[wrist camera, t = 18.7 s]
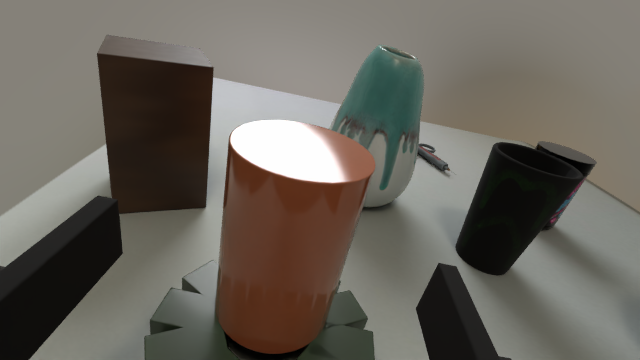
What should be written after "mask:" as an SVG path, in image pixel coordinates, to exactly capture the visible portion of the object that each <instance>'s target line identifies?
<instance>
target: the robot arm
mask: <svg viewBox="0 0 640 360" xmlns="http://www.w3.org/2000/svg"><path fill="white" fill-rule="evenodd" d="M122 254H123V251H122V240H121V229H120V219H119V208H118V200H117V199H112V198H107V197H102V196H97V197H95V198H94V199H93V200H92V201H90V202H89V203H88V204H86V205H85V206H84V207H83V208H81V209H80V210H79V211H77V212H76V213H75V214H73V215H72V216H71V217H70V218H68V219H67V220H66V221H64V222H63V223H62V224H61V225H59V226H58V227H57V228H55V229H54V230H53V231H51V232H50V233H49V234H48V235H46V236H45V237H44V238H42V239H41V240H40V241H39V242H37V243H36V244H35V245H33V246H32V247H31V248H29V249H28V250H27V251H26V252H24V253H23V254H22V255H20V256H19V257H18V258H17V259H15V260H14V261H13V262H11V263H10V264H9V265H7V266H6V267H2V266H0V360H29V359H30V358H31V357H32V355H33V354H34V353H35V352H36V351H37V350H38V349H39V347H40V346H41V345H42V344H43V343H44V342H45V341H46V340H47V338H48V337H49V336H50V335H51V334H52V333H53V332H54V331H55V329H56V328H57V327H58V326H59V325H60V324H61V323H62V321H63V320H64V319H65V318H66V317H67V316H68V315H69V314H70V312H71V311H72V310H73V309H74V308H75V307H76V306H77V304H78V303H79V302H80V301H81V300H82V299H83V298H84V297H85V295H86V294H87V293H88V292H89V291H90V290H91V289H92V287H93V286H94V285H95V284H96V283H97V282H98V281H99V280H100V278H101V277H102V276H103V275H104V274H105V273H106V272H107V270H108V269H109V268H110V267H111V266H112V265H113V264H114V263H115V261H116V260H117V259H118V258H119V257H120V256H121V255H122ZM416 311H417V314H418V318H419V322H420V326H421V329H422V333H423V337H424V341H425V344H426V348H427V352H428V356H429V359H430V360H511V358H505V357H500V356H498V354H497V352H496V350H495V348H494V346H493V344H492V341H491V339H490V337H489V335H488V333H487V331H486V329H485V327H484V324H483V322H482V320H481V318H480V316H479V314H478V312H477V310H476V307H475V305H474V303H473V301H472V299H471V297H470V295H469V292H468V290H467V288H466V286H465V284H464V282H463V280H462V278H461V275H460V273H459V271H458V269H457V267H456V266H451V265H446V264H441V263H438V265H437V267H436V269H435V271H434V273H433V275H432V277H431V279H430V281H429V283H428V285H427V287H426V289H425V291H424V293H423V295H422V297H421V299H420V301H419V303H418V305H417V307H416Z"/></svg>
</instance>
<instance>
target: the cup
mask: <svg viewBox="0 0 640 360" xmlns="http://www.w3.org/2000/svg"><path fill="white" fill-rule="evenodd" d="M582 180H583V175H582V173H581V172H580V171H579V170H578V169H576V168H575V167H573V166H572V165H570V164H568V163H566V162H564V161H562V160H560V159H558V158H556V157H554V156H552V155H549V154H546V153H544V152H541V151H538V150H535V149H532V148H529V147H526V146H522V145H518V144H513V143H506V142H499V143H496V144H494V145H493V147H492V150H491V153H490V155H489V158H488V161H487V163H486V166H485V169H484V171H483V174H482V177H481V179H480V182H479V185H478V187H477V190H476V193H475V195H474V198H473V201H472V203H471V206H470V209H469V211H468V214H467V217H466V219H465V222H464V224H463V227H462V230H461V232H460V235H459V238H458V240H457V243H456V251H457V252H458V254H459V256H460V257H461V258H462V259H463V260H464V261H465V262H467V263H468V264H469V265H471V266H472V267H474V268H476V269H478V270H480V271H482V272H485V273H487V274H492V275H503V274H505V273H506V272H507V271H508V270H509V269H510V267H511V266H512V265H513V264H514V262H515V261H516V260H517V259H518V258H519V256H520V255H521V254H522V253H523V252H524V250H525V249H526V248H527V247H528V245H529V244H530V243H531V242H532V241H533V239H534V238H535V237H536V236H537V235H538V233H539V232H540V231H541V230H542V228H543V227H544V226H545V225H546V224H547V222H548V221H549V220H550V219H551V217H552V216H553V215H554V214H555V213H556V211H557V210H558V209H559V208H560V207H561V205H562V204H563V203H564V202H565V200H566V199H567V198H568V197H569V196H570V194H571V193H572V192H573V191H574V190H575V188H576V187H577V186H578V185H579V183H580V182H581V181H582Z"/></svg>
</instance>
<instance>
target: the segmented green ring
mask: <svg viewBox="0 0 640 360" xmlns="http://www.w3.org/2000/svg"><path fill="white" fill-rule="evenodd" d="M217 274H218V263H217V262H215V261H214V260H212V261H210V262H208V263H207V264H205V265H203V266H202V267H200V268H198V269H196V270H195V271H193V272H191V273H189V274H188V275H186V276H184V277H183V278H182V290H180V289H175V288H171V289H170V291H169V292H168V294H167V295H166V297H165V298H164V300H163V301H162V303H161V304H160V306H159V307H158V309H157V310H156V312H155V313H154V315H153V316H152V318H151V319H150V333H151V335H148V336H145V338H144V344H145V360H240V359H239V358H238V357H236V356H235V355H234V354H233V353H232V352H231V351H230V350H229V349H228V347H227V342H226V341H227V339H228V338H229V336H228V335H227V334H226V332H225V331H224V330H223V329H222V327H221V325H220V323H219V321H218V319H217V316H216V311H215V298H216V286H217ZM340 282H341V281H340V280H339V283H338V287H337V290H336V293H335V296H334V299H333V302H332V305H331V308H330V311H329V315H328V318H327V321H326V323H325V326H324V328H323V329H322V331H321V333H320V334H319V335H318V336H317V337H316V338H315V339H314V340H313V341H312V342H311V343H309V344H308V345H306V346H304V347H302V348H300V351H301V354H300V356H299V357H298V358H297V359H296V360H375V356H374V342H373V332H372V331H368V330H363V329H364V327H365V324H366V322H367V320H368V318H367V316H366V314H365V313H364V311H363V310H362V308H361V307H360V305H359V303H358V302H357V300H356V299H355V297H354V296H353V294H352V293H351V291H350V290H349V291H344V292H340V293H337V292H338V289H339V285H340Z"/></svg>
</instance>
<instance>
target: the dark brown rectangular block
mask: <svg viewBox="0 0 640 360" xmlns="http://www.w3.org/2000/svg"><path fill="white" fill-rule="evenodd" d="M97 57H98V67H99V77H100V87H101V97H102V106H103V116H104V125H105V135H106V145H107V155H108V165H109V174H110V184H111V194H112V199H117V200H118V208H119V213H131V212H146V211H160V210H175V209H189V208H204V207H206V196H207V178H208V159H209V141H210V123H211V105H212V87H213V66H212V65H211V63H210V62H209V60H208V59H207V58H206V56H205V55H204V53H203V52H202V50H201V49H200V48H194V47H187V46H180V45H173V44H166V43H159V42H152V41H146V40H138V39H132V38H124V37H118V36H111V35H106V37H105V39H104V41H103V43H102V45H101V47H100V49H99V51H98V53H97Z"/></svg>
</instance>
